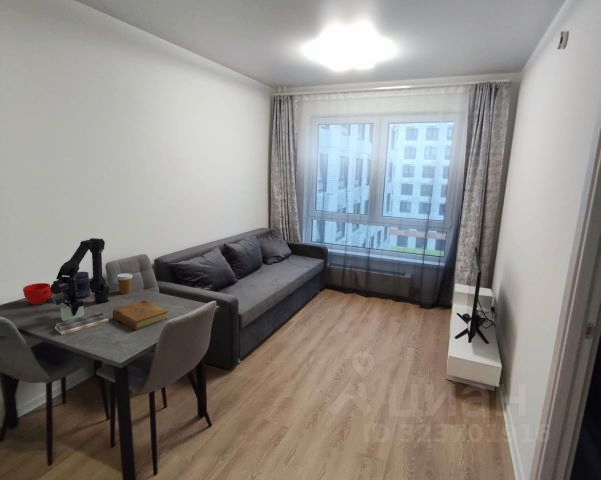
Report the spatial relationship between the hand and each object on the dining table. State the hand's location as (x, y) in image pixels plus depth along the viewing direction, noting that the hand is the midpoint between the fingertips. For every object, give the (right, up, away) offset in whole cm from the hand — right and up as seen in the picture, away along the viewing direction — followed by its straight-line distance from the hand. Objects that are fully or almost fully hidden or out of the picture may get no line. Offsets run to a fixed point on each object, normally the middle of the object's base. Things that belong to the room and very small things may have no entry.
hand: (72, 314), depth 193 cm
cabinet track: (+10, -4, -8) cm, 13 cm away
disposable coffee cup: (+9, +6, +41) cm, 42 cm away
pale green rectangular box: (0, -2, 0) cm, 2 cm away
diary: (+36, -3, +2) cm, 36 cm away
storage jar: (-14, +5, +30) cm, 34 cm away
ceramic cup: (-30, +3, +18) cm, 35 cm away
